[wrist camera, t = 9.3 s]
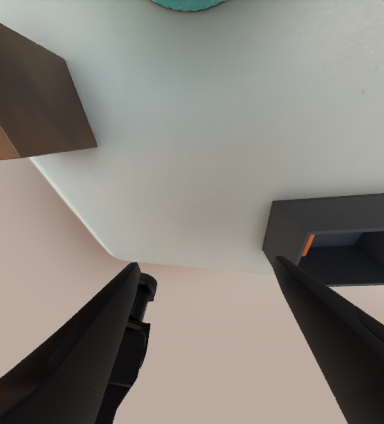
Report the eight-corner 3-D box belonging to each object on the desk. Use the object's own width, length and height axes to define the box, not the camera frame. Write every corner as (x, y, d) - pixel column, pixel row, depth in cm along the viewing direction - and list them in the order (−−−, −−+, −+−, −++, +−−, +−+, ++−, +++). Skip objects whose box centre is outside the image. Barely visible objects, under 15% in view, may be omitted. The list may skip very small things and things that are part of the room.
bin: (353, 244, 25) (409, 284, 18) (262, 249, 26) (284, 288, 19) (386, 193, 20) (479, 222, 14) (272, 200, 21) (307, 231, 14)
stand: (97, 146, 18) (21, 158, 10) (53, 151, 18) (-54, 165, 10) (64, 58, 14) (-108, -39, 6) (8, 66, 14) (-222, -16, 6)
